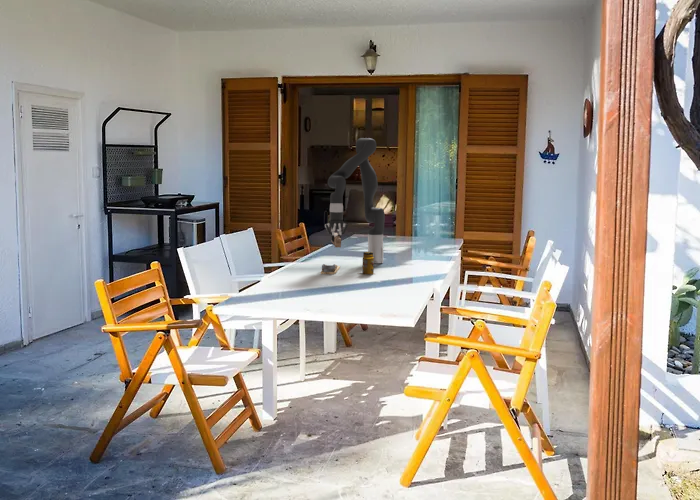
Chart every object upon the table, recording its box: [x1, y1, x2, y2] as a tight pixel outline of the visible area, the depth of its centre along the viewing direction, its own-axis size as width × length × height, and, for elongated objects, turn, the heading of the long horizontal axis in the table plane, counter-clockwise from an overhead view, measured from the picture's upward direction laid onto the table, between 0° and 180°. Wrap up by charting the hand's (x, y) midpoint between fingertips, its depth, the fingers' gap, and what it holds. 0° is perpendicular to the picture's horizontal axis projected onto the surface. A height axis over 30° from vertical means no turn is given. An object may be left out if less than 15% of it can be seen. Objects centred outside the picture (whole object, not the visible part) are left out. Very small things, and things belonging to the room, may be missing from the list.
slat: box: [330, 232, 342, 248], centre depth 395 cm, size 10×3×5 cm, turn 17°
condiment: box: [356, 251, 375, 276], centre depth 379 cm, size 7×8×12 cm
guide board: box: [320, 263, 341, 275], centre depth 391 cm, size 8×22×4 cm, turn 174°
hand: (336, 241), depth 395 cm, fingers closed on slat, 3 cm apart
